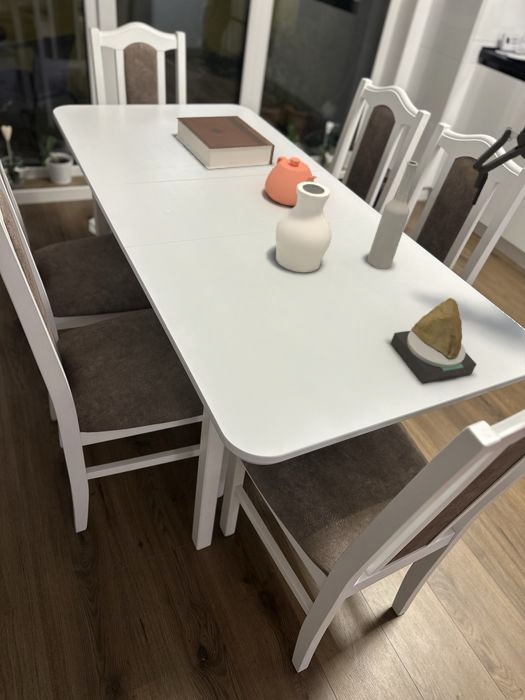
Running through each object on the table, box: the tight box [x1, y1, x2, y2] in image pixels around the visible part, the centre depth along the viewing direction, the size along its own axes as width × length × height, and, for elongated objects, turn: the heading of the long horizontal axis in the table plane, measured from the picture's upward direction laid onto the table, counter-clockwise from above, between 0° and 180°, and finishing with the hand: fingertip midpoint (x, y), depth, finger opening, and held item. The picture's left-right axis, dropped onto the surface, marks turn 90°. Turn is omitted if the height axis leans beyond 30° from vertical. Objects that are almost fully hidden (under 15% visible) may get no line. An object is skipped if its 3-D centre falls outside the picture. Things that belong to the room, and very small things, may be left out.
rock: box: [410, 297, 463, 359], centre depth 114 cm, size 11×9×10 cm
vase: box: [275, 181, 333, 274], centre depth 136 cm, size 14×14×20 cm
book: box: [175, 115, 276, 170], centre depth 189 cm, size 24×28×7 cm
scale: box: [390, 329, 478, 384], centre depth 118 cm, size 13×13×4 cm
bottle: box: [367, 160, 419, 270], centre depth 139 cm, size 7×7×28 cm
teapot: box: [264, 155, 318, 207], centre depth 165 cm, size 22×16×12 cm
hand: (504, 212), depth 119 cm, fingers open, 13 cm apart
